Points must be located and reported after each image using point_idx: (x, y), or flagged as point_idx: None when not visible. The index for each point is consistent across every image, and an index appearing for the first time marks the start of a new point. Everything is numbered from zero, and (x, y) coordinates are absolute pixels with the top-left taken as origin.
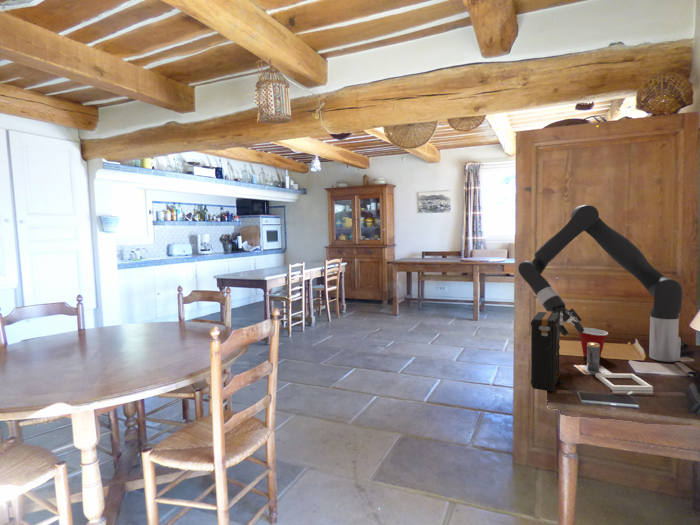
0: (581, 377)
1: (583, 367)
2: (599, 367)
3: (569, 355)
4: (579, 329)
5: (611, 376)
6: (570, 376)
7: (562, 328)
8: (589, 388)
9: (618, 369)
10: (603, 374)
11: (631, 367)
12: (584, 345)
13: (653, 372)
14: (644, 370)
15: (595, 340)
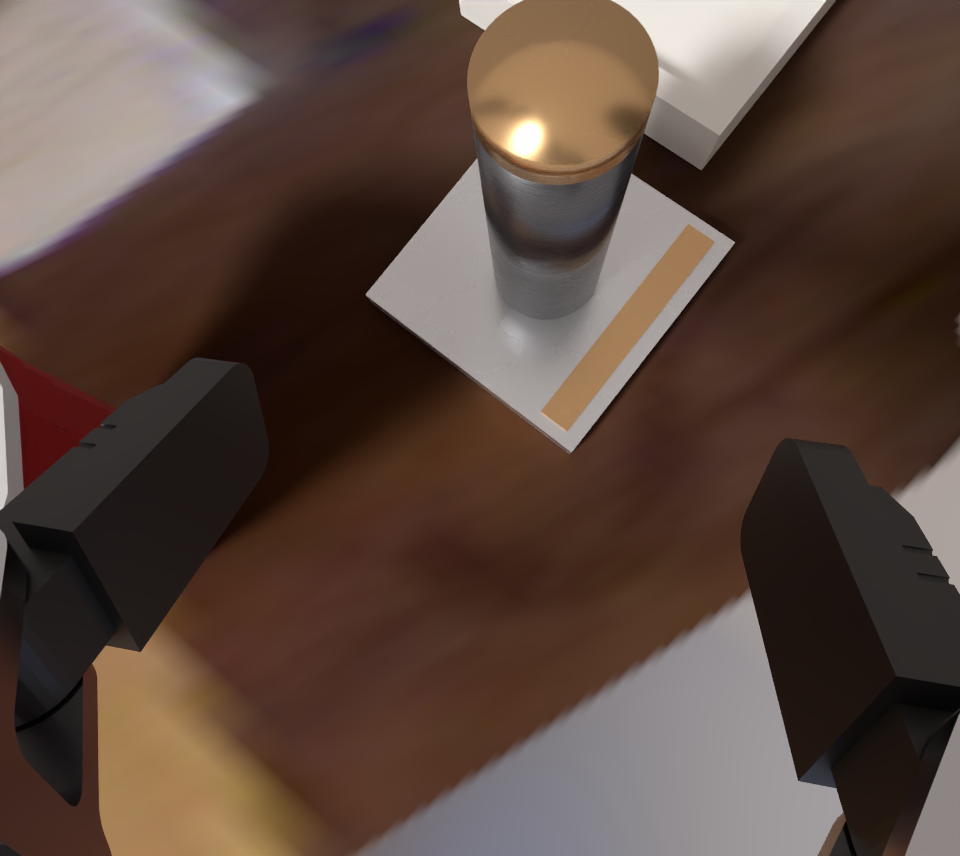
0: (762, 261)
1: (558, 355)
2: (435, 269)
3: (221, 712)
4: (219, 465)
5: None
6: (826, 332)
7: (939, 609)
8: (955, 80)
9: (293, 200)
10: (684, 84)
11: (159, 168)
12: None
13: (162, 19)
14: (162, 77)
15: (54, 388)
